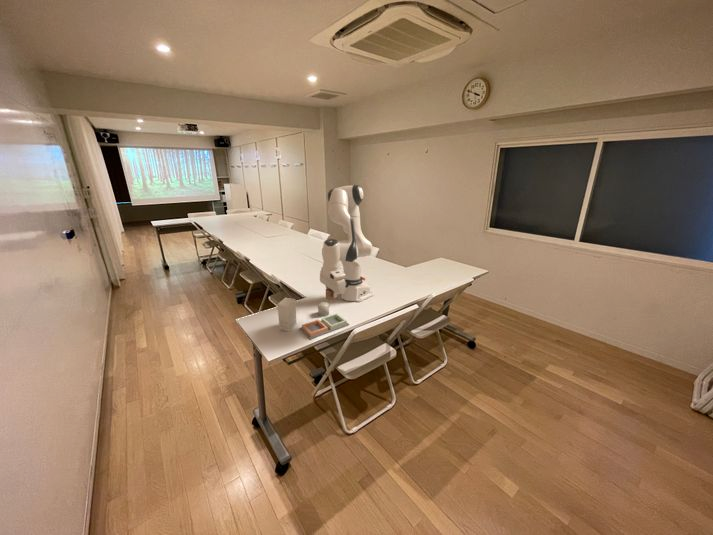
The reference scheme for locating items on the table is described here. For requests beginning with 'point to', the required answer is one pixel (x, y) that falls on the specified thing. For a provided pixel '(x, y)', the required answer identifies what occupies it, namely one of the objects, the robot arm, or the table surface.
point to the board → (323, 326)
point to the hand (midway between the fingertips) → (331, 295)
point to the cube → (330, 294)
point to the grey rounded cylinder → (323, 309)
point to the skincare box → (287, 314)
